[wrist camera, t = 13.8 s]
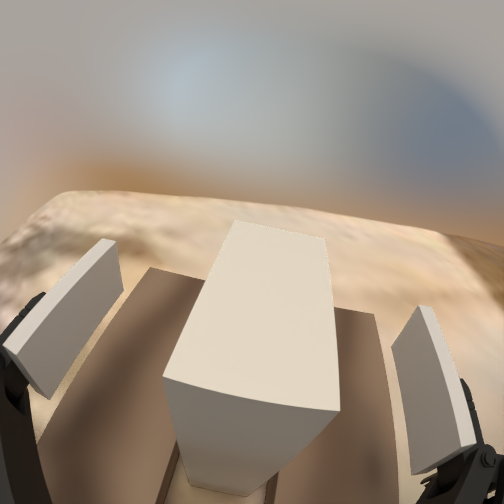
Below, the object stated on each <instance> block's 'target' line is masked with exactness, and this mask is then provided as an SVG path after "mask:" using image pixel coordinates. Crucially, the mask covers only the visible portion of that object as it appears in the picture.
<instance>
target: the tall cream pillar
mask: <svg viewBox="0 0 504 504" xmlns="http://www.w3.org/2000/svg"><path fill="white" fill-rule="evenodd" d="M162 378H163V383H164V388H165V393H166V397H167V402H168V407H169V411H170V415H171V419H172V424H173V428H174V432H175V436H176V439H177V443H178V447H179V450H180V454H181V457H182V461H183V464H184V468H185V471H186V474H187V477H188V480H189V484H190V485H193V486H197V487H201V488H205V489H209V490H213V491H218V492H223V493H228V494H233V495H239V496H245V497H247V496H248V495H250V494H251V493H252V492H253V491H255V490H256V489H257V488H259V487H260V486H261V485H262V484H264V483H265V482H266V481H267V480H269V479H270V478H271V477H272V476H274V475H275V474H276V473H277V472H278V471H279V470H281V469H282V468H283V467H284V466H285V465H286V464H288V463H289V462H290V461H291V460H292V459H293V458H294V457H295V456H296V455H297V454H299V453H300V452H301V451H302V450H303V449H304V448H305V447H306V446H307V445H308V444H309V443H310V442H311V441H312V440H313V439H314V438H315V437H316V436H317V435H318V434H319V433H320V432H321V431H322V430H323V429H324V428H325V427H326V426H327V425H328V424H329V423H330V422H331V420H332V419H333V418H334V417H335V416H336V415H337V414H338V413H339V412H340V391H339V369H338V353H337V339H336V327H335V316H334V306H333V296H332V287H331V278H330V270H329V263H328V255H327V248H326V241H325V239H324V238H319V237H315V236H310V235H306V234H301V233H296V232H292V231H287V230H282V229H278V228H273V227H268V226H263V225H258V224H253V223H248V222H243V221H238V220H235V221H234V223H233V225H232V227H231V229H230V231H229V233H228V235H227V237H226V239H225V241H224V243H223V245H222V247H221V250H220V252H219V254H218V256H217V258H216V260H215V262H214V264H213V266H212V268H211V270H210V272H209V275H208V277H207V279H206V281H205V283H204V285H203V287H202V289H201V292H200V294H199V296H198V298H197V300H196V302H195V304H194V307H193V309H192V311H191V313H190V315H189V317H188V320H187V322H186V324H185V326H184V328H183V331H182V333H181V335H180V337H179V339H178V342H177V344H176V346H175V348H174V351H173V353H172V355H171V357H170V360H169V362H168V364H167V366H166V369H165V371H164V373H163V376H162Z"/></svg>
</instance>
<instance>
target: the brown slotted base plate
mask: <svg viewBox="0 0 504 504" xmlns="http://www.w3.org/2000/svg"><path fill="white" fill-rule="evenodd" d="M204 283H205V280H201V279H196V278H192V277H188V276H184V275H180V274H175V273H171V272H167V271H163V270H159V269H155V268H151V267H150V268H149V269H148V271H147V272H146V273H145V275H144V276H143V277H142V279H141V280H140V281H139V283H138V284H137V286H136V287H135V288H134V290H133V291H132V292H131V294H130V295H129V297H128V298H127V299H126V301H125V302H124V304H123V305H122V306H121V308H120V309H119V311H118V312H117V313H116V315H115V316H114V318H113V319H112V321H111V322H110V324H109V325H108V327H107V328H106V330H105V331H104V332H103V334H102V335H101V337H100V338H99V340H98V341H97V343H96V345H95V346H94V348H93V349H92V351H91V352H90V354H89V355H88V357H87V358H86V360H85V362H84V363H83V365H82V366H81V368H80V370H79V371H78V373H77V374H76V376H75V378H74V379H73V381H72V383H71V384H70V386H69V388H68V389H67V391H66V393H65V394H64V396H63V398H62V400H61V401H60V403H59V405H58V407H57V408H56V410H55V412H54V414H53V416H52V417H51V419H50V421H49V423H48V425H47V427H46V428H45V430H44V432H43V434H42V436H41V438H40V440H39V442H38V444H37V450H38V454H39V459H40V463H41V467H42V471H43V474H44V478H45V481H46V485H47V488H48V491H49V494H50V497H51V500H52V503H53V504H164V501H165V497H166V494H167V491H168V488H169V485H170V482H171V479H172V475H173V472H174V469H175V466H176V463H177V460H178V457H179V454H180V450H179V447H178V443H177V439H176V436H175V432H174V428H173V424H172V419H171V415H170V411H169V407H168V402H167V397H166V393H165V388H164V383H163V378H162V376H163V373H164V371H165V369H166V366H167V364H168V362H169V360H170V357H171V355H172V353H173V351H174V348H175V346H176V344H177V342H178V339H179V337H180V335H181V333H182V331H183V328H184V326H185V324H186V322H187V320H188V317H189V315H190V313H191V311H192V309H193V307H194V304H195V302H196V300H197V298H198V296H199V294H200V292H201V289H202V287H203V285H204ZM334 316H335V327H336V339H337V353H338V369H339V391H340V412H339V413H338V414H337V415H336V416H335V417H334V418H333V419H332V420H331V422H330V423H329V424H328V425H327V426H326V427H325V428H324V429H323V430H322V431H321V432H320V433H319V434H318V435H317V436H316V437H315V438H314V439H313V440H312V441H311V442H310V443H309V444H308V445H307V446H306V447H305V448H304V449H303V450H302V451H301V452H300V453H299V454H297V455H296V456H295V457H294V458H293V459H292V460H291V461H290V462H289V463H288V464H286V465H285V466H284V467H283V468H282V469H281V470H279V471H278V472H277V473H276V474H275V475H274V476H272V477H271V478H270V479H269V480H268V486H267V492H266V498H265V504H399V487H398V466H397V452H396V441H395V431H394V423H393V415H392V407H391V400H390V394H389V387H388V381H387V375H386V370H385V364H384V359H383V354H382V349H381V344H380V339H379V335H378V330H377V326H376V322H375V317H374V314H370V313H364V312H358V311H353V310H347V309H341V308H336V307H334Z"/></svg>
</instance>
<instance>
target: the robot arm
mask: <svg viewBox="0 0 504 504" xmlns="http://www.w3.org/2000/svg"><path fill="white" fill-rule="evenodd" d="M123 291H124V290H123V284H122V278H121V272H120V265H119V258H118V250H117V242H116V241H112V240H108V239H104V238H102V239H101V240H100V241H99V242H98V243H97V244H96V245H95V246H94V247H93V248H91V249H90V250H89V251H88V252H87V253H86V254H85V255H84V256H83V257H82V258H81V259H80V260H79V261H78V262H77V263H76V264H75V265H74V266H73V267H72V268H71V269H70V270H69V271H68V272H67V273H66V274H65V275H64V276H63V277H62V278H61V279H60V280H59V281H58V282H57V283H56V284H55V285H54V286H53V287H52V288H51V289H50V290H49V291H48V292H47V293H45V292H42V293H40V294H39V295H37V296H35V297H34V298H32V299H31V300H30V301H29V303H28V304H27V305H26V306H25V308H24V309H22V310H21V311H20V313H19V315H18V316H16V317H15V318H14V319H13V321H12V322H11V323H10V324H9V325H8V327H7V328H6V329H5V330H4V331H3V333H2V334H1V335H0V504H53V503H52V500H51V497H50V494H49V491H48V488H47V485H46V481H45V478H44V474H43V471H42V467H41V463H40V459H39V454H38V450H37V445H36V440H35V435H34V429H33V423H32V416H31V408H30V399H29V392H28V389H27V386H28V384H29V383H30V385H31V386H32V387H33V388H34V390H35V391H36V392H38V393H39V394H41V395H42V396H44V397H45V398H47V399H48V400H50V399H51V397H52V396H53V394H54V392H55V391H56V389H57V387H58V386H59V384H60V382H61V381H62V379H63V378H64V376H65V374H66V373H67V371H68V370H69V368H70V367H71V365H72V363H73V362H74V360H75V359H76V357H77V356H78V354H79V353H80V351H81V350H82V348H83V347H84V345H85V344H86V342H87V341H88V339H89V338H90V337H91V335H92V334H93V332H94V331H95V329H96V328H97V327H98V325H99V324H100V322H101V321H102V319H103V318H104V317H105V315H106V314H107V313H108V311H109V310H110V308H111V307H112V306H113V304H114V303H115V302H116V300H117V299H118V298H119V296H120V295H121V294H122V292H123ZM391 348H392V352H393V356H394V361H395V366H396V370H397V375H398V380H399V385H400V391H401V396H402V402H403V408H404V414H405V421H406V428H407V436H408V444H409V454H410V465H411V475H418V474H423V473H427V472H429V471H431V470H433V469H435V468H437V473H435V474H433V475H431V476H429V477H427V478H425V479H423V480H422V481H421V483H420V484H424V483H426V482H428V481H430V482H429V483H427V484H426V485H425V487H426V488H425V490H424V492H423V493H422V495H421V496H420V498H419V500H418V501H417V503H416V504H504V455H500V454H496V451H495V449H494V448H493V447H492V446H491V445H488V444H484V441H483V437H482V433H481V428H480V424H479V420H478V417H477V413H476V410H475V406H474V402H472V400H473V399H472V395H471V392H470V389H469V387H468V386H467V384H466V383H465V381H464V380H463V379H459V376H458V373H457V370H456V367H455V364H454V361H453V358H452V356H451V353H450V350H449V348H448V345H447V342H446V340H445V337H444V335H443V332H442V330H441V328H440V325H439V323H438V320H437V318H436V316H435V314H434V311H433V309H432V307H429V306H423V305H418V306H417V308H416V309H415V311H414V313H413V314H412V316H411V318H410V319H409V321H408V322H407V324H406V325H405V327H404V329H403V330H402V332H401V333H400V335H399V336H398V338H397V339H396V341H395V342H394V343H393V345H392V346H391ZM494 490H496V492H495V496H493V497H491V498H489V499H488V498H487V495H488V493H490V492H492V491H494Z"/></svg>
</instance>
